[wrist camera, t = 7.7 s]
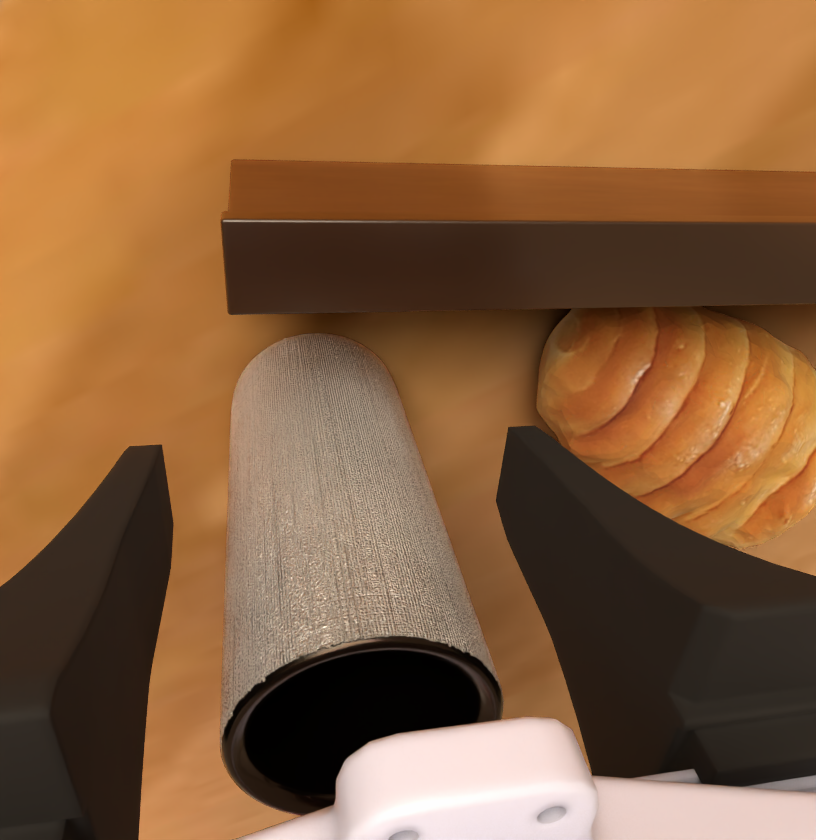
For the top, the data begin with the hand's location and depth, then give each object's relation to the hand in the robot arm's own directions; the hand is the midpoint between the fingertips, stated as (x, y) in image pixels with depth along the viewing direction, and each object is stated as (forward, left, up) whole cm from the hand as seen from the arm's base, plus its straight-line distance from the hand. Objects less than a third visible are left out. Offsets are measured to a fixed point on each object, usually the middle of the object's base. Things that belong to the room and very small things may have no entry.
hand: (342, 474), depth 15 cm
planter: (-1, 0, -5) cm, 5 cm away
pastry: (-2, -10, -5) cm, 12 cm away
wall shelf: (+4, -7, -5) cm, 10 cm away
